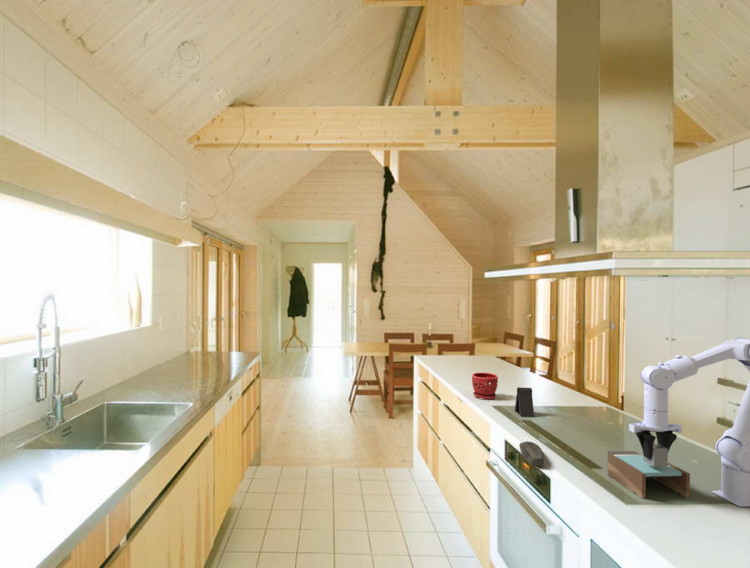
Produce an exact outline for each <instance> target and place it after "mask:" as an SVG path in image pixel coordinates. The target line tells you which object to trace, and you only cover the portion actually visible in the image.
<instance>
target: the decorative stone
mask: <svg viewBox="0 0 750 568" xmlns="http://www.w3.org/2000/svg"><path fill="white" fill-rule="evenodd" d="M519 450H520V453H521V456H522V458H523V459H524V460H525V462H527V463H529V465H531V466H533V467H538V468H539V467H543V466H544V464H545V456H544V451H543V450H542V448H541V446H539V445H538V444H537V443H535V442H532V441H522V442H520V443H519Z"/></svg>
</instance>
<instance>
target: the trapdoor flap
mask: <svg viewBox="0 0 750 568" xmlns="http://www.w3.org/2000/svg"><path fill="white" fill-rule="evenodd" d="M608 454H612V455H614V456H616V457H617V458H619V459H621V460H622V461H624V462H626V463H627V464H629V465H631V466H632V467H634V468H636V469H638V470H639V471H641V472H643V473H644V474H646V476H682V472H680V471H679V470H677V469H675V468H673V467H671V466H669V465H668V467H654V466H652V465H650V464H648V463H647V462H645V461H643V453H642V454H641V453H639V452H637V451H635V450H628V451H627V450H620V451H619V450H616V451H615V450H613V451H612V450H611V451H607V455H608Z"/></svg>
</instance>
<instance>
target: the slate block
mask: <svg viewBox="0 0 750 568" xmlns="http://www.w3.org/2000/svg"><path fill="white" fill-rule="evenodd" d="M642 454H643V453H642ZM668 455H669V452H668V448H666V447H664V446H662V445H659V444H658V442H654V444H653V450H652V458H651V459H648V458H646V457H645V456H644V454H643V461H645V462H647V463H648V464H650V465H652V466H654V467H668V463H669V461H668V458H669V456H668Z"/></svg>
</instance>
